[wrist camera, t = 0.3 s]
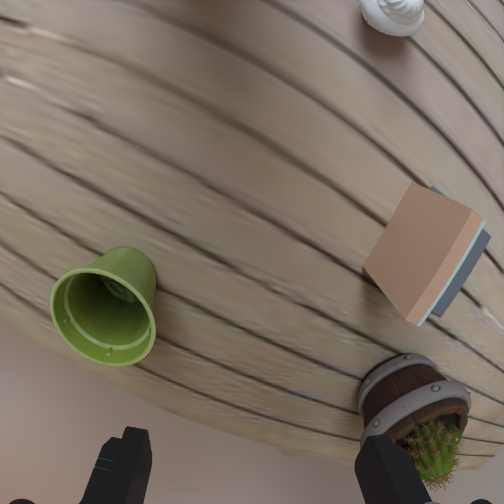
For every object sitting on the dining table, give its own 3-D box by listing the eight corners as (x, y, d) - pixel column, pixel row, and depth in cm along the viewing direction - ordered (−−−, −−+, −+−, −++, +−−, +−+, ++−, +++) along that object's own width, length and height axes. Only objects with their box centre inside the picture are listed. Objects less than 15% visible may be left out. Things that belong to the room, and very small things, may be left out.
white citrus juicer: (415, 24, 22) (454, 7, 16) (381, 55, 24) (419, 41, 17) (371, -20, 21) (402, -47, 14) (333, 9, 22) (360, -19, 16)
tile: (411, 182, 29) (472, 209, 19) (424, 191, 29) (485, 221, 20) (362, 266, 32) (404, 319, 23) (376, 273, 32) (420, 326, 23)
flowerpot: (442, 381, 40) (500, 477, 22) (355, 426, 42) (390, 535, 24) (434, 317, 35) (522, 430, 17) (326, 373, 37) (371, 515, 19)
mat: (432, 186, 29) (433, 186, 29) (490, 236, 31) (491, 236, 31) (374, 283, 33) (375, 283, 32) (440, 316, 35) (440, 316, 35)
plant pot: (192, 271, 31) (179, 321, 23) (141, 328, 33) (121, 382, 25) (117, 211, 28) (77, 243, 20) (74, 277, 31) (36, 321, 23)
